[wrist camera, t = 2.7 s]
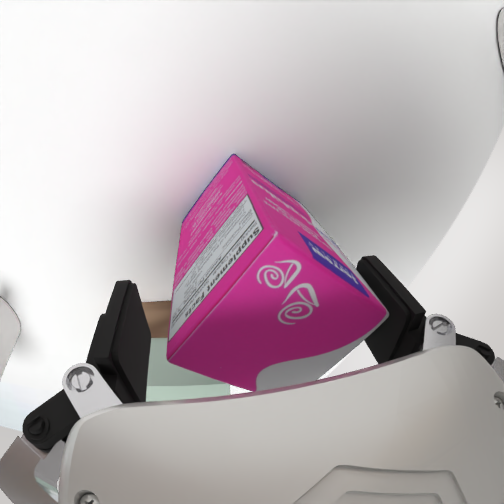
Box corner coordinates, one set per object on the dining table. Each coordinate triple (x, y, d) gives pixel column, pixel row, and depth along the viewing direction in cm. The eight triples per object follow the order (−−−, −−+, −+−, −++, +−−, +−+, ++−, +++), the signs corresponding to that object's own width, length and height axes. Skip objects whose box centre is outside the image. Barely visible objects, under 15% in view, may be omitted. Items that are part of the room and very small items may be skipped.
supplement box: (303, 200, 19) (396, 318, 9) (248, 263, 21) (285, 407, 11) (234, 147, 16) (278, 234, 7) (179, 222, 18) (159, 369, 9)
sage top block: (223, 334, 19) (229, 383, 15) (228, 395, 23) (233, 434, 19) (111, 338, 18) (99, 384, 14) (139, 397, 22) (136, 435, 18)
